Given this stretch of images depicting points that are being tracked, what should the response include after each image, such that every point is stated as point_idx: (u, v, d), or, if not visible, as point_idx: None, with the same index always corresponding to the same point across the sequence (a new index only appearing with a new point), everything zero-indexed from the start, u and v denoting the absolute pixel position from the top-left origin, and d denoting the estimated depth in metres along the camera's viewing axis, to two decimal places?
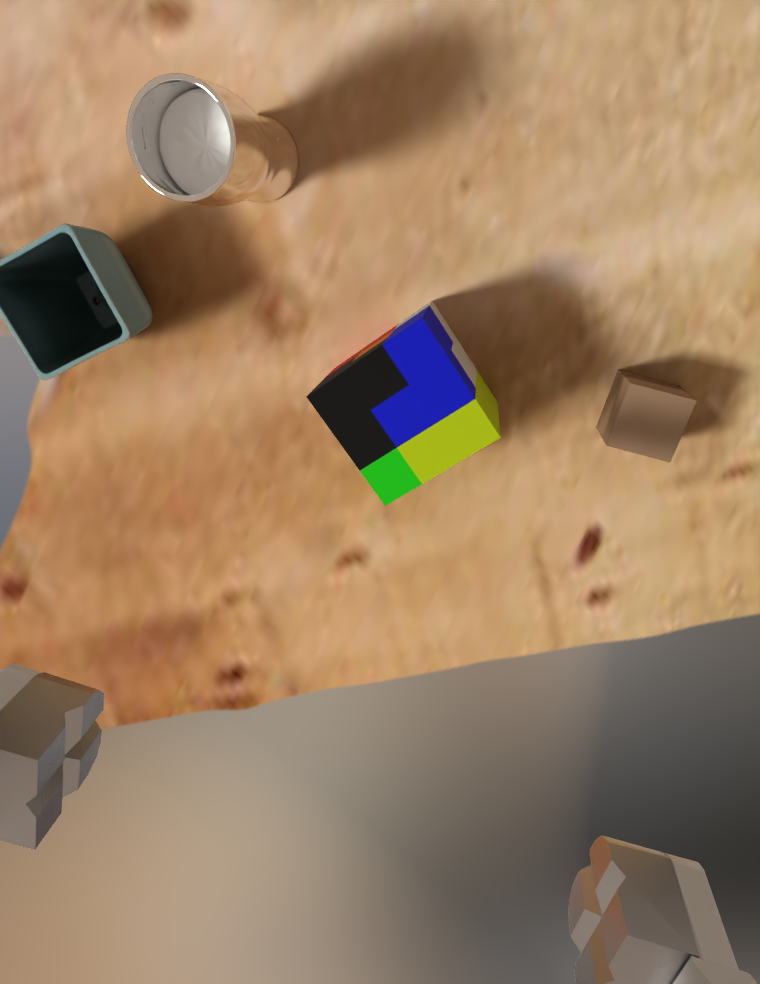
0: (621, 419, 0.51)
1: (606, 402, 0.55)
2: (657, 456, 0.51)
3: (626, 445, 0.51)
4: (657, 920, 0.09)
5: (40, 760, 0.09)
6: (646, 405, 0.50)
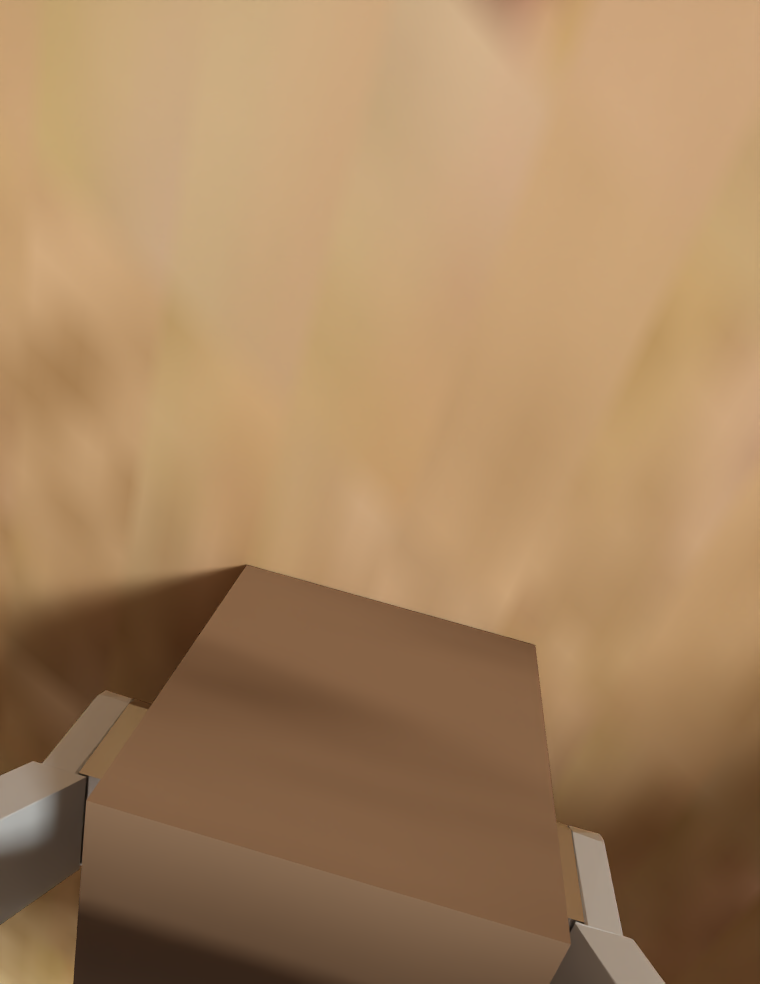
0: None
1: None
2: (184, 843, 0.07)
3: (417, 927, 0.07)
4: None
5: None
6: None
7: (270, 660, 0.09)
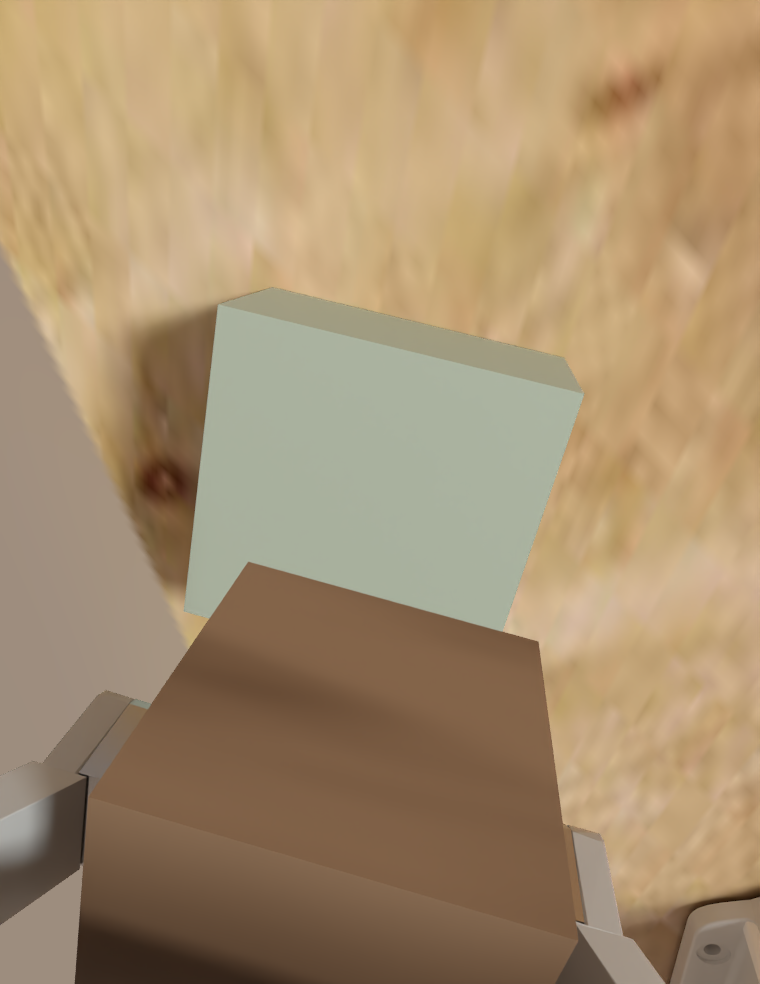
0: None
1: None
2: (187, 840, 0.07)
3: (423, 924, 0.07)
4: None
5: None
6: None
7: (273, 657, 0.09)
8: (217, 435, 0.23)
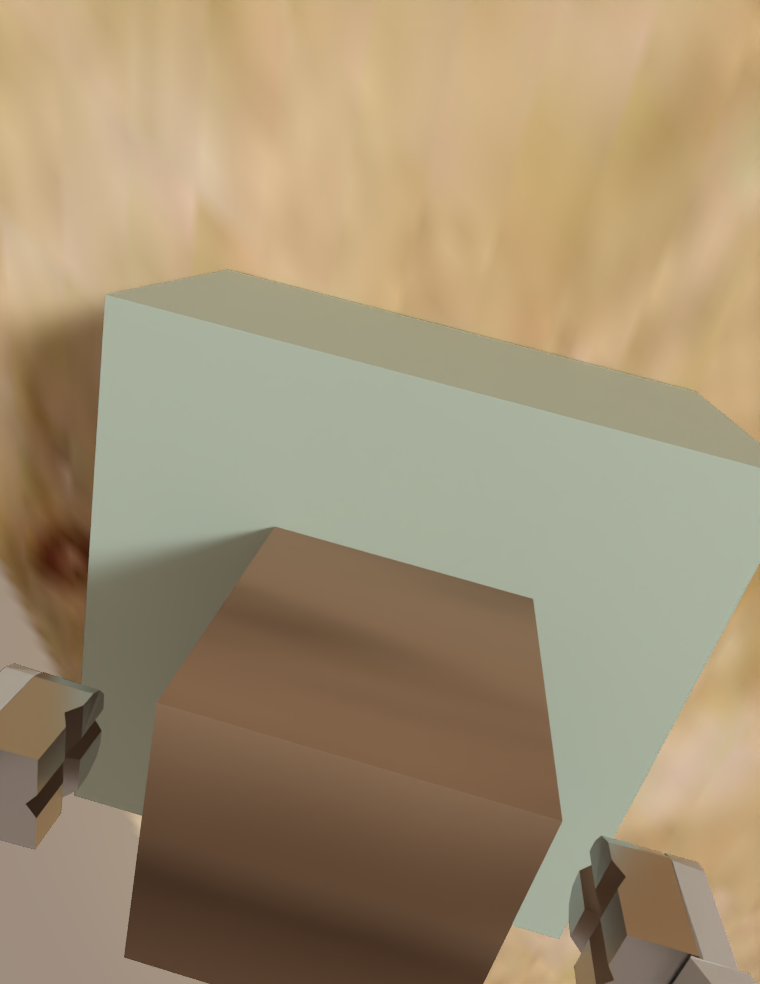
0: (477, 931, 0.09)
1: None
2: (238, 739, 0.08)
3: (434, 810, 0.08)
4: (657, 920, 0.09)
5: (40, 760, 0.09)
6: (352, 969, 0.09)
7: (301, 603, 0.11)
8: (115, 528, 0.13)
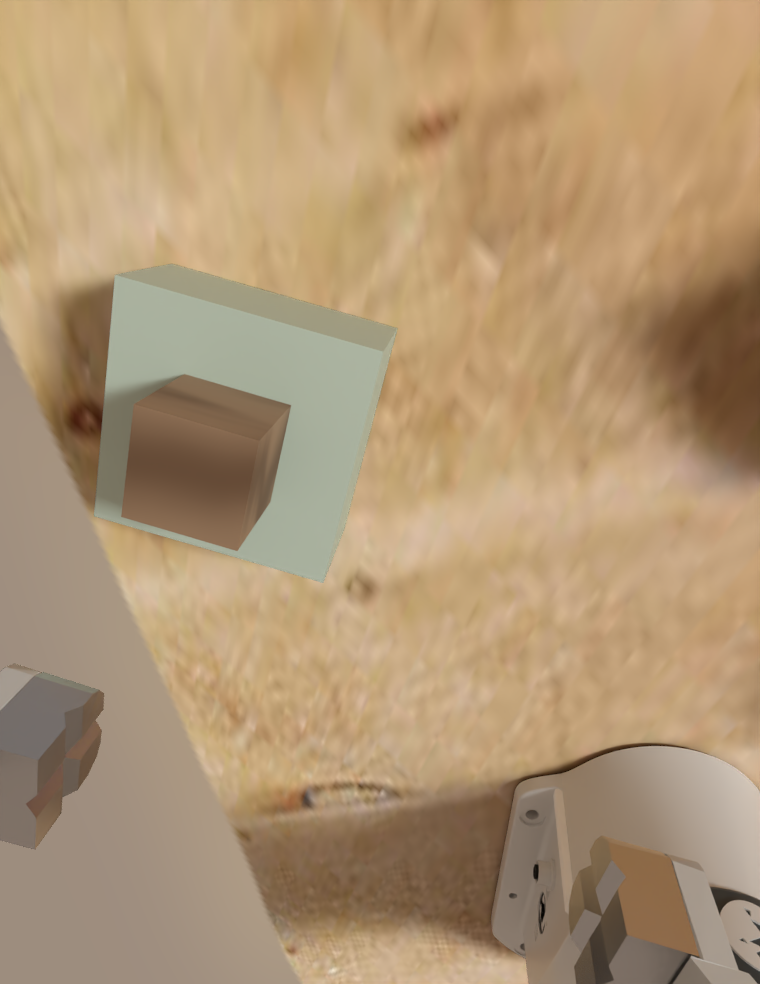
0: (240, 489, 0.27)
1: (279, 452, 0.31)
2: (159, 416, 0.26)
3: (221, 439, 0.26)
4: (657, 920, 0.09)
5: (40, 760, 0.09)
6: (201, 512, 0.27)
7: (189, 393, 0.28)
8: (116, 376, 0.31)
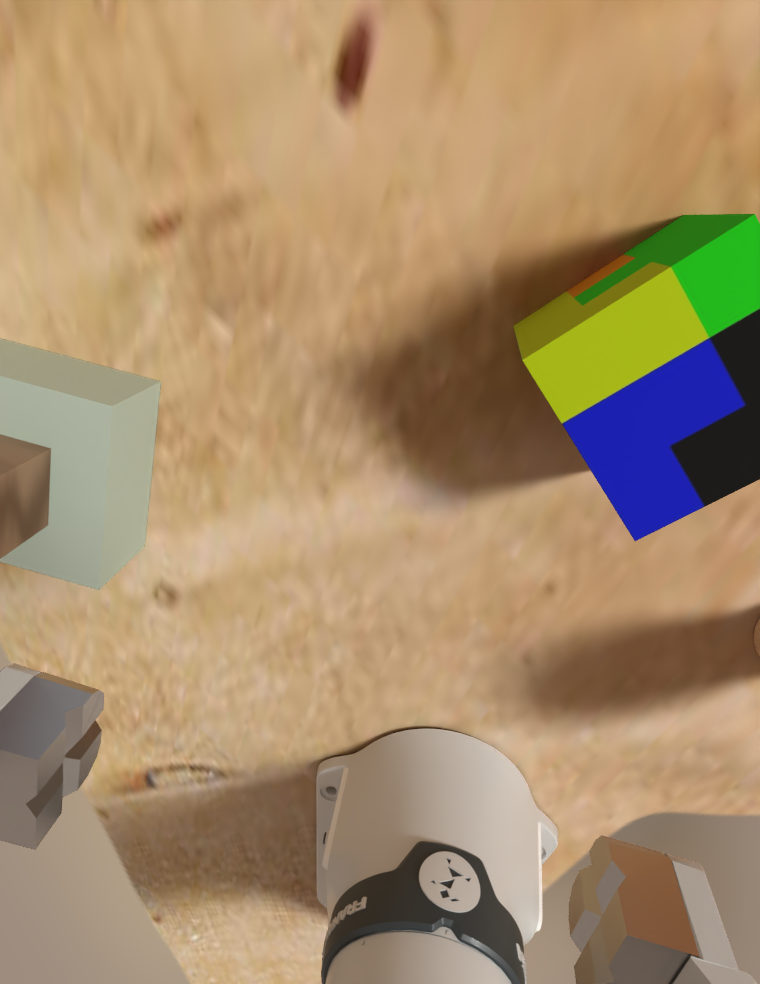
0: None
1: (46, 485, 0.39)
2: None
3: None
4: (657, 920, 0.09)
5: (40, 760, 0.09)
6: None
7: None
8: None
